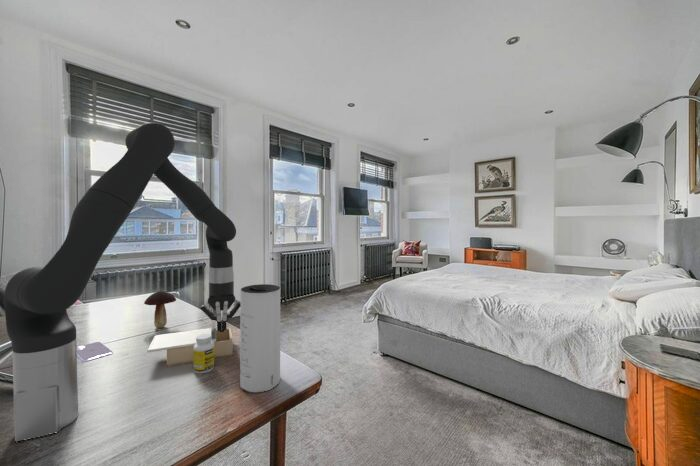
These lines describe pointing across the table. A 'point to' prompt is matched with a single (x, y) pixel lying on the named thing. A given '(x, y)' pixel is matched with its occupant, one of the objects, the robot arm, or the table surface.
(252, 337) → the speaker
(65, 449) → the table surface
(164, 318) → the decorative mushroom
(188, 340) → the mailer lid
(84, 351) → the mobile phone
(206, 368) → the supplement bottle
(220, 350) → the light wooden open box
